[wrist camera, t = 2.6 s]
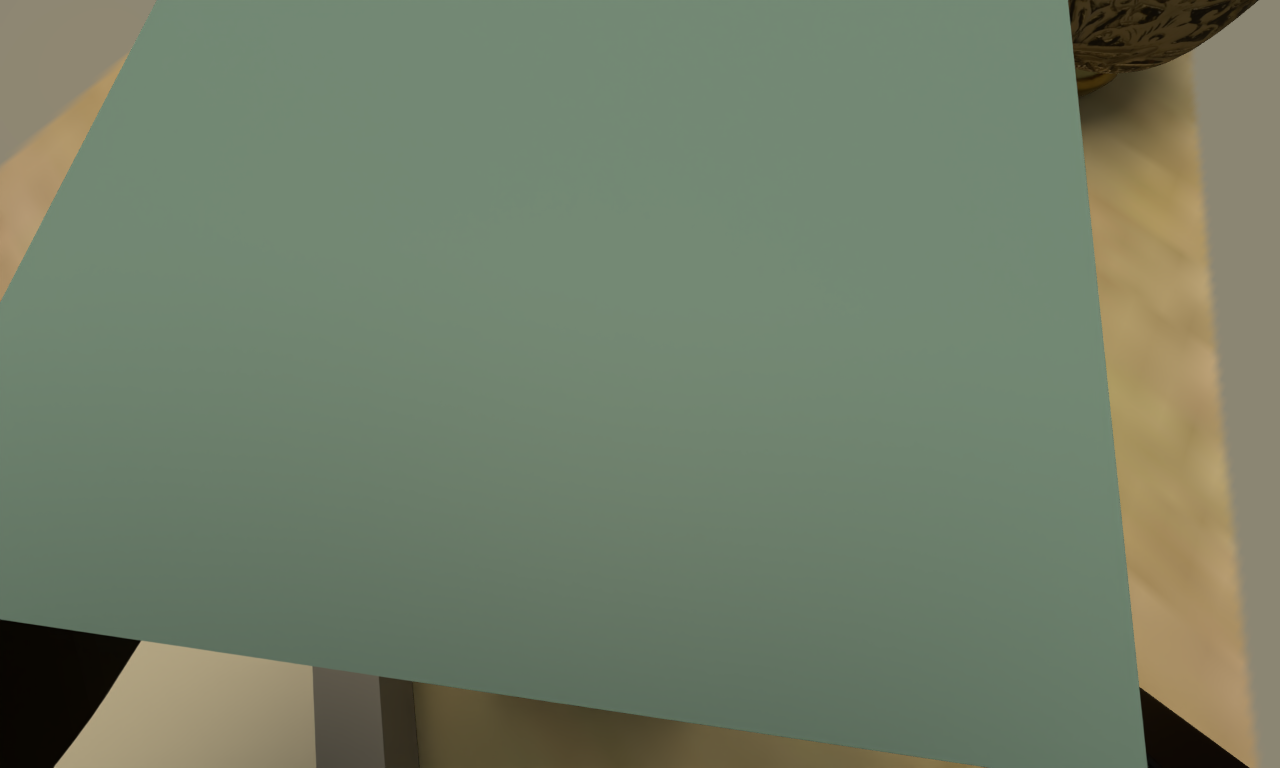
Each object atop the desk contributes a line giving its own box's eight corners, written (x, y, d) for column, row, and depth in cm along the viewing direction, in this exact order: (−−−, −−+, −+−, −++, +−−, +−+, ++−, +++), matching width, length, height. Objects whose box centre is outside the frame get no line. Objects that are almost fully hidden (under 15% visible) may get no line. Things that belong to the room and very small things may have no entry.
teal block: (697, 703, 16) (1150, 789, 3) (489, 671, 17) (-150, 595, 3) (718, 490, 18) (1053, -135, 4) (531, 463, 18) (277, -232, 4)
